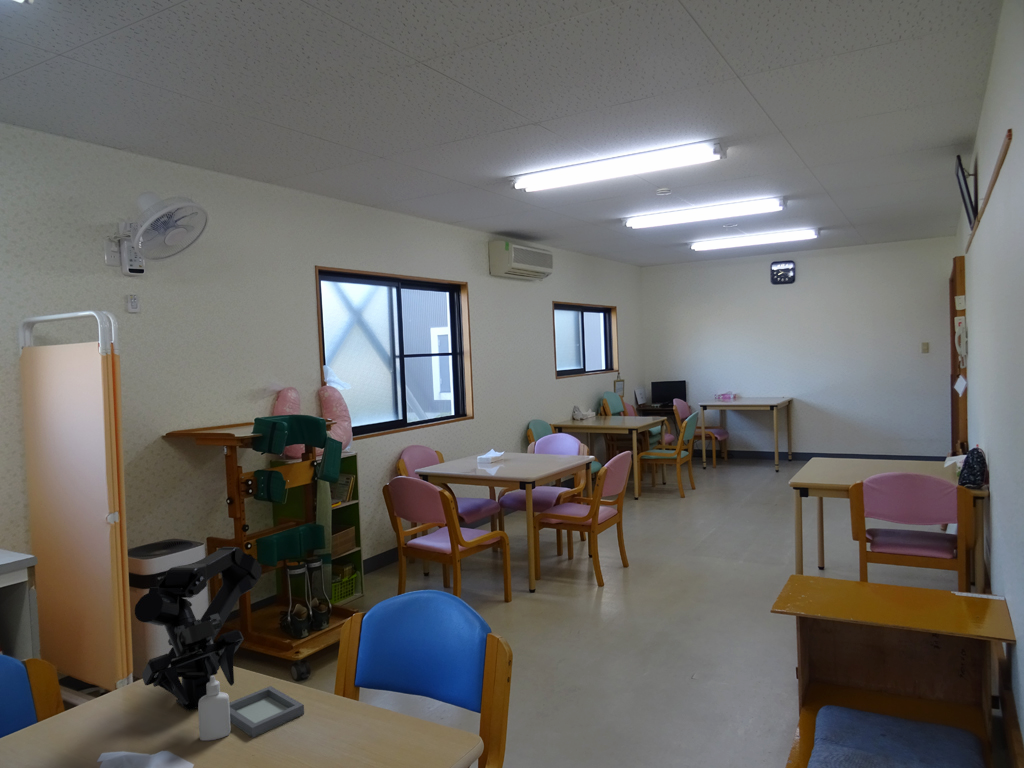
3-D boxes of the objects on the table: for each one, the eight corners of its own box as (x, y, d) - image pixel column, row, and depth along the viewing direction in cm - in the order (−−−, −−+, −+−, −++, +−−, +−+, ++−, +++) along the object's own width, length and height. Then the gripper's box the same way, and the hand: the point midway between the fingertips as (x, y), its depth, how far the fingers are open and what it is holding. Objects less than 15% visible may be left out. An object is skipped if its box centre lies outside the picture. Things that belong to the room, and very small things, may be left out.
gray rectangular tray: (220, 715, 144) (220, 706, 144) (270, 694, 153) (270, 685, 153) (252, 737, 135) (252, 727, 135) (304, 714, 144) (303, 704, 144)
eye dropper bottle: (209, 728, 139) (206, 670, 139) (234, 730, 138) (231, 671, 138) (195, 740, 135) (192, 680, 134) (222, 742, 134) (219, 682, 133)
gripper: (144, 619, 132) (174, 693, 125) (236, 591, 146) (267, 656, 140) (130, 649, 137) (157, 721, 131) (220, 619, 152) (249, 682, 145)
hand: (210, 693), depth 136 cm, fingers open, 9 cm apart
